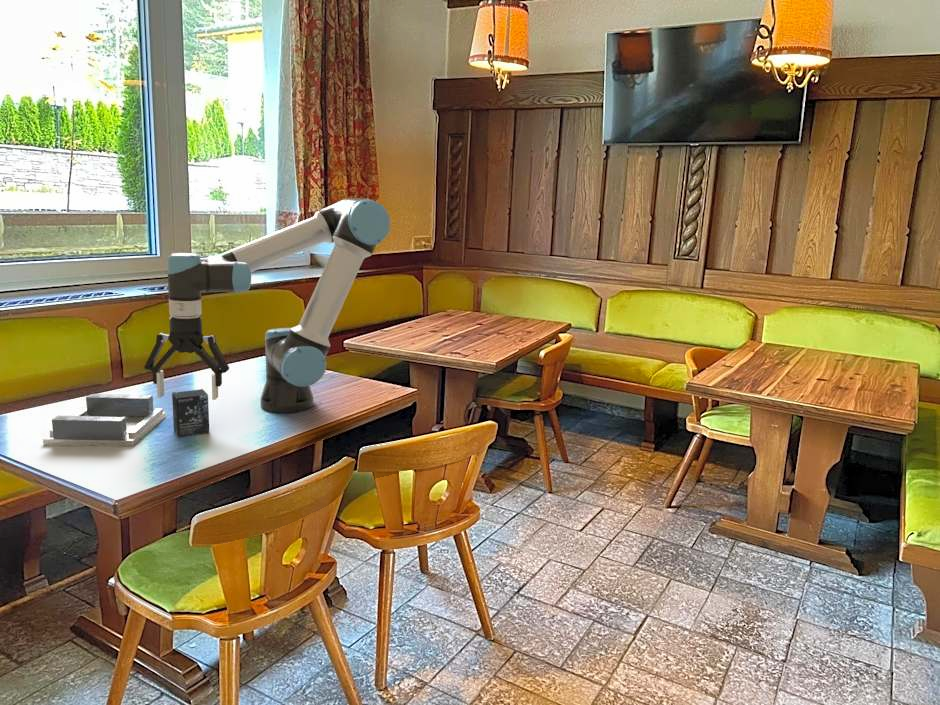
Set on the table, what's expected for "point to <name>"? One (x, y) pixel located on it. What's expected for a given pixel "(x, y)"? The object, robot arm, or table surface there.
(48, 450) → the table surface
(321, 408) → the table surface
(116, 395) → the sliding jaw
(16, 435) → the table surface
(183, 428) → the box
